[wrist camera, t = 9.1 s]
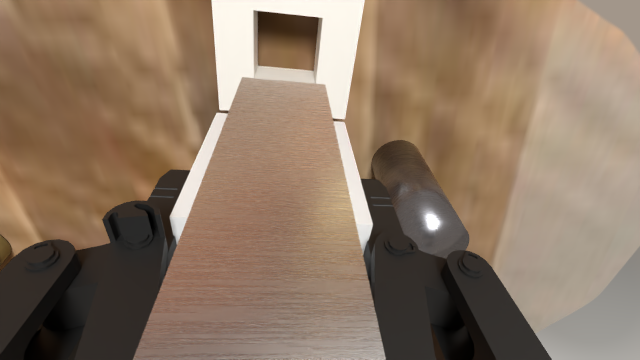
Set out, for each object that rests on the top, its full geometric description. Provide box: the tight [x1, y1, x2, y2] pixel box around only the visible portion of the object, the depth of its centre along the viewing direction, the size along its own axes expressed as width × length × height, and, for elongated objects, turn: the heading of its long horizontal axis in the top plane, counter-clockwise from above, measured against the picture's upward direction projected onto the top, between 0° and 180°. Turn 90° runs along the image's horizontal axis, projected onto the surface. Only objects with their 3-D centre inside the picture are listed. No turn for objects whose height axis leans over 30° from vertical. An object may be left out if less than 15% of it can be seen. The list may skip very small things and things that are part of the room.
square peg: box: [133, 77, 386, 360], centre depth 11 cm, size 4×4×14 cm
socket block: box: [212, 0, 365, 119], centre depth 30 cm, size 12×12×4 cm
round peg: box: [372, 140, 469, 259], centre depth 35 cm, size 6×6×14 cm
